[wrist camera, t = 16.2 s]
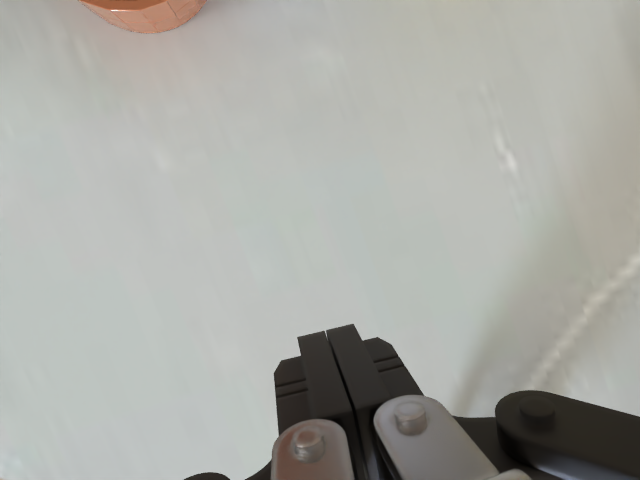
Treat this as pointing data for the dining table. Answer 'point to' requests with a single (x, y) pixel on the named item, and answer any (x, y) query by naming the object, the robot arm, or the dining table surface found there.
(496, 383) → the dining table surface
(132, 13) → the pot
